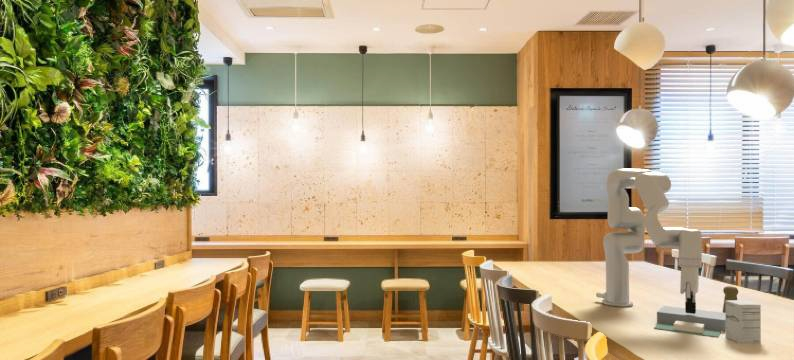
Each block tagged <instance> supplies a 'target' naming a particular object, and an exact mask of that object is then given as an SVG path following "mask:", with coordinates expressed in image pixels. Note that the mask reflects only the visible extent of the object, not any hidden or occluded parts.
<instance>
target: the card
mask: <svg viewBox="0 0 794 360" xmlns="http://www.w3.org/2000/svg"><path fill="white" fill-rule="evenodd" d="M674 330H681V331H689V332H696V333H703V332H704V324H699V323H691V322H683V321H675V323H674Z"/></svg>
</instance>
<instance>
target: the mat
mask: <svg viewBox="0 0 794 360" xmlns="http://www.w3.org/2000/svg"><path fill="white" fill-rule="evenodd" d="M653 329H654V330H661V331H669V332H675V333H676V332H677V333H682V334H691V335H698V336H703V337H711V338H719V337H720V335H721V333H722V331H719V330H712V329H704V332H703V333H696V332H689V331H681V330H674V324H666V323H657V324H656V325H655V326H654V327H653Z"/></svg>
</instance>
